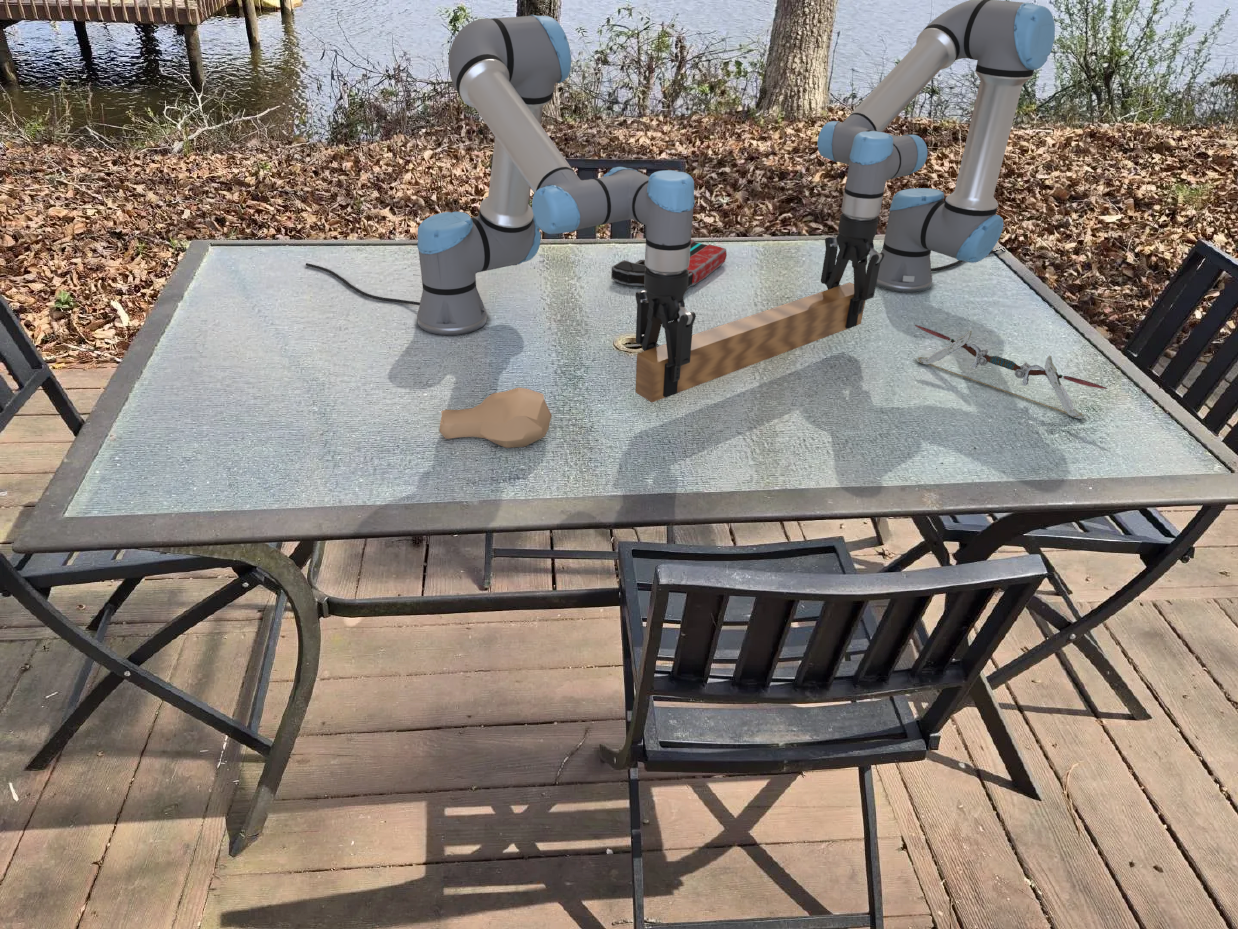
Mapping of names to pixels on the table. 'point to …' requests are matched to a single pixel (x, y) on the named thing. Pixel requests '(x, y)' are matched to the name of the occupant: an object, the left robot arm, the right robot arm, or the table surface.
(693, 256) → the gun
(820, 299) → the post
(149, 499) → the table surface
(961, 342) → the bow
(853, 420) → the table surface
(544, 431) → the squash
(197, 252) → the table surface
